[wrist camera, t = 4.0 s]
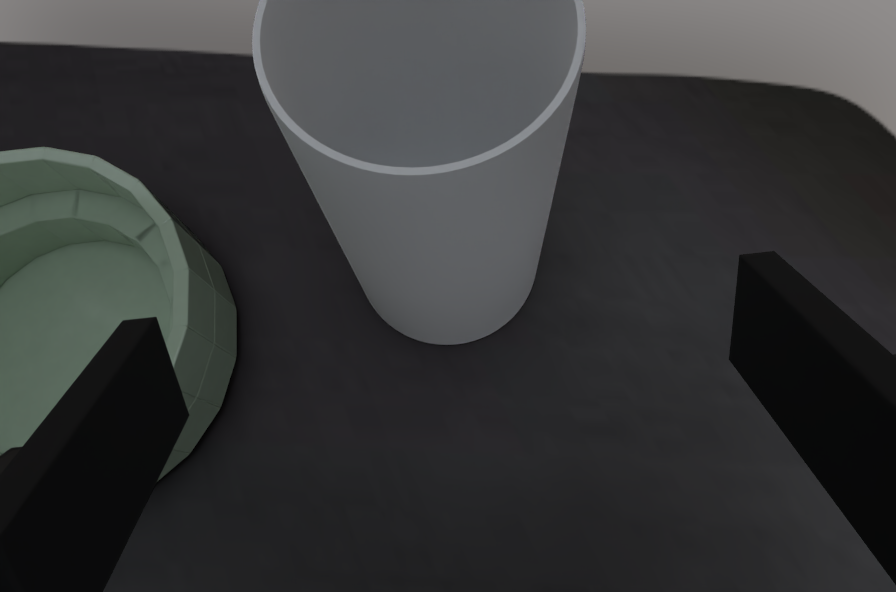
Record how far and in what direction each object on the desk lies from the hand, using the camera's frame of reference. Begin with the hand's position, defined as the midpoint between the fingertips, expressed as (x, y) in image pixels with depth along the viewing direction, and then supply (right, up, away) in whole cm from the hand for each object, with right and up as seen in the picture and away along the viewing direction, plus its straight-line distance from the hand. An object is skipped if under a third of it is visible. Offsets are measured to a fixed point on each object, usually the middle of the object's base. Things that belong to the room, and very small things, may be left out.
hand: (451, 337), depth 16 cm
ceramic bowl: (-16, -2, +16) cm, 23 cm away
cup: (0, +3, +16) cm, 17 cm away
